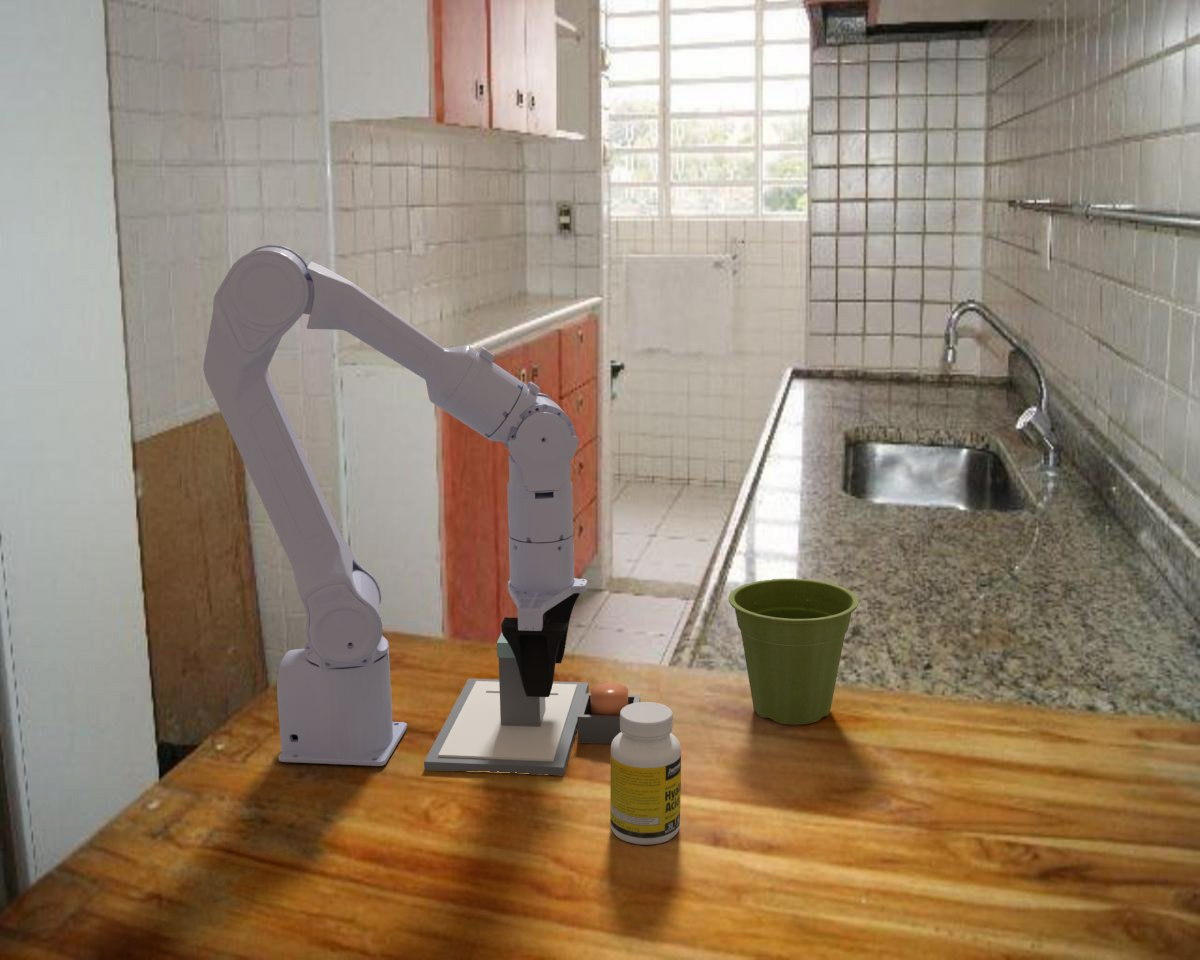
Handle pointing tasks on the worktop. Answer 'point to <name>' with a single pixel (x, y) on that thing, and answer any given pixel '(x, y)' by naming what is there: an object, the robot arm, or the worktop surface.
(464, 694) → the sketch board
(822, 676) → the plant pot
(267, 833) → the worktop surface
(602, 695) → the button
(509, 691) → the block
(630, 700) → the button housing
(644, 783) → the supplement bottle
